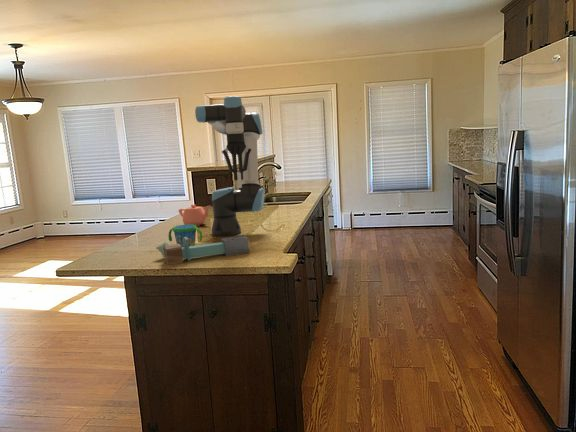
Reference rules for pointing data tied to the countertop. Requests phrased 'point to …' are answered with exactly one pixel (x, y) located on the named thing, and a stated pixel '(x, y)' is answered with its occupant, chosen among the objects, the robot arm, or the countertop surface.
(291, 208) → the countertop surface
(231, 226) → the robot arm
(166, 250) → the socket block
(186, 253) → the tube
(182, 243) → the snack cup
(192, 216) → the teapot
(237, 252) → the sleeve
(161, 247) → the robot head
